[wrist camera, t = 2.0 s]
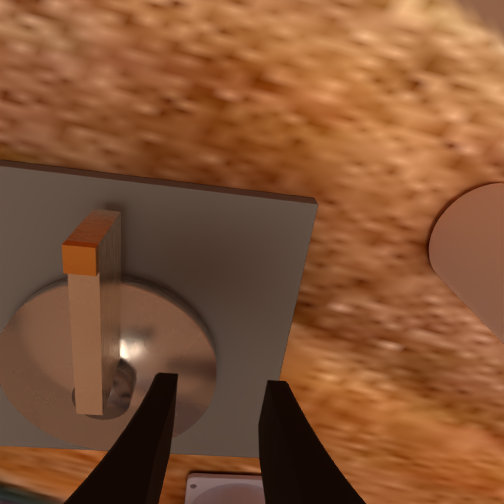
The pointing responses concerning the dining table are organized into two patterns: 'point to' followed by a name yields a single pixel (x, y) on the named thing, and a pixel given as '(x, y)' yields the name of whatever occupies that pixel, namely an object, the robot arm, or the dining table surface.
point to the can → (474, 253)
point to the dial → (102, 345)
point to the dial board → (169, 277)
